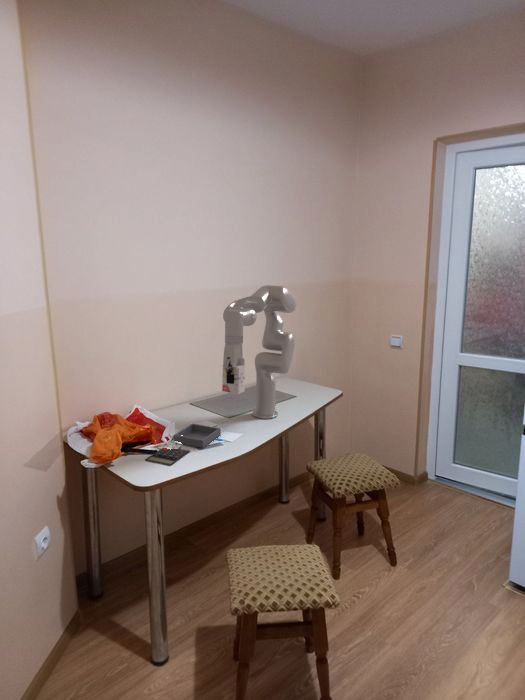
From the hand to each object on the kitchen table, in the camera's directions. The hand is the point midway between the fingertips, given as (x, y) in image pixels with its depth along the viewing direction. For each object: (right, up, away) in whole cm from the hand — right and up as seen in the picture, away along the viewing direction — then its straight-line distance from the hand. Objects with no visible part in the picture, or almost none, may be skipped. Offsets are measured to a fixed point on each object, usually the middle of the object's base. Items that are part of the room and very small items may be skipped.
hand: (233, 381), depth 214 cm
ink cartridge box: (0, -5, +1) cm, 5 cm away
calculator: (-25, -29, -15) cm, 41 cm away
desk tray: (-15, -25, +2) cm, 30 cm away
